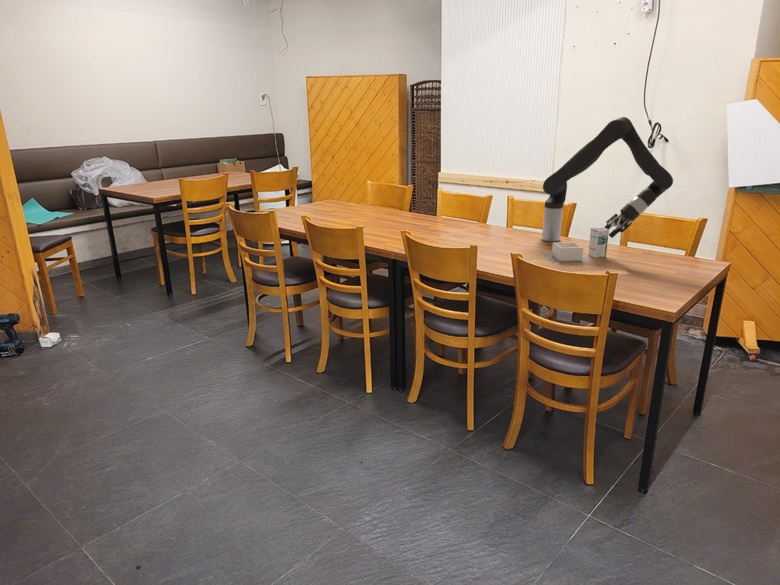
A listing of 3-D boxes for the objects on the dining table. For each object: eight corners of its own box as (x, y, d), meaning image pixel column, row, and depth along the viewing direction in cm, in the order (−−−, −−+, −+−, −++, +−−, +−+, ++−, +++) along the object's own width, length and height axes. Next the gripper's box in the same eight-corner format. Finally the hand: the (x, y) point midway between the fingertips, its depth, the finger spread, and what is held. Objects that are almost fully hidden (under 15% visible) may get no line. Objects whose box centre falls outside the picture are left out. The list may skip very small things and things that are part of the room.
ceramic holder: (551, 254, 256) (552, 242, 254) (573, 254, 257) (574, 241, 255) (559, 261, 246) (560, 248, 244) (582, 260, 247) (583, 247, 245)
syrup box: (595, 261, 251) (598, 230, 246) (587, 257, 257) (590, 227, 252) (605, 260, 253) (609, 229, 248) (597, 256, 258) (601, 226, 253)
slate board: (542, 257, 258) (542, 254, 258) (579, 256, 259) (580, 253, 259) (552, 265, 245) (552, 262, 245) (591, 264, 246) (591, 261, 245)
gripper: (621, 200, 253) (594, 225, 257) (636, 206, 240) (607, 232, 243) (631, 211, 255) (604, 236, 259) (646, 217, 242) (618, 243, 245)
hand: (606, 234), depth 251 cm, fingers open, 8 cm apart
